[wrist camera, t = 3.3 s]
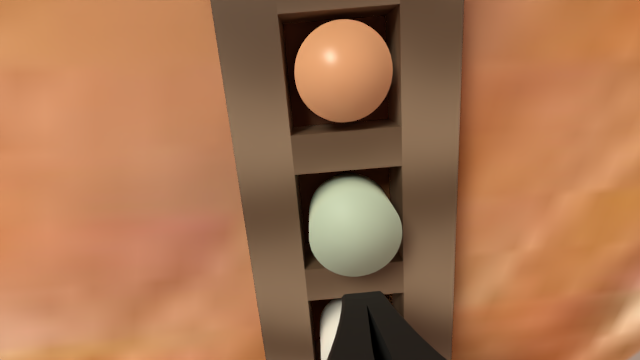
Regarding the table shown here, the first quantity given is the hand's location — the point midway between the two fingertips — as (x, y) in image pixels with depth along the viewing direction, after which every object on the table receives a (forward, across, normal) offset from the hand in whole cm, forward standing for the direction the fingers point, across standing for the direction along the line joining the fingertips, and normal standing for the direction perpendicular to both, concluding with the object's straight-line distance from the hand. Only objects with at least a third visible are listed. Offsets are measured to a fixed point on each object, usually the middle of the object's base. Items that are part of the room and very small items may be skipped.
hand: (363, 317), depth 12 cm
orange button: (+6, 0, -8) cm, 10 cm away
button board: (+6, 0, -2) cm, 7 cm away
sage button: (+5, 0, -2) cm, 5 cm away
